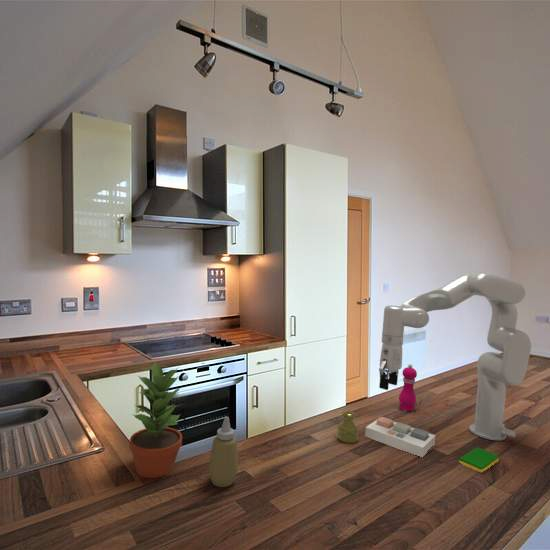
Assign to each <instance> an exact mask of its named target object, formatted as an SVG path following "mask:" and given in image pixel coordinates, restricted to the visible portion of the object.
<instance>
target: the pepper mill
mask: <svg viewBox="0 0 550 550" xmlns="http://www.w3.org/2000/svg"><path fill="white" fill-rule="evenodd" d="M402 376H403V378H402V381H403V387H402V390H401V391H400V393H399V395H398V400H399V402H400V403H398V405H399V406H398V408H399V409H400V410H401V409H403V410H406V411H405V412H408V411H412V412H414V410H415V404H416V402H417V397H416V394H415V391H414V384H415V383H416V380H415V379H416V378H417V376H418V372H417V370H416V369H415V368H413V365H412V364H411V363H409V364H407V367H404V368H403V370H402ZM403 410H402V411H403Z"/></svg>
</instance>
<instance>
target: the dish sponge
mask: <svg viewBox="0 0 550 550" xmlns="http://www.w3.org/2000/svg"><path fill="white" fill-rule="evenodd" d="M499 457H500V456H499V455H498V454H497V453H496V454H495V453H493V452H490V451H488V450H486V449H483V448H480V447H475V448H474V449H472V450H470V451H469V452H467V453H465V454H464V455H462V456H461V457H459V461H458V464H459V463H461V464H463V465H465V466H467V467H470V468H472V469H474V470H477V471H479V472H483V471H485V470H487V469H488V468H489V469H491V468H490V467H491V466H492V465H493V466H495V465H496V464H497V463H498V462H499V459H500V458H499ZM496 462H497V463H496ZM495 463H496V464H495ZM494 464H495V465H494ZM493 466H492V467H493ZM489 469H488V470H489ZM488 470H487V471H488ZM485 472H486V471H485Z"/></svg>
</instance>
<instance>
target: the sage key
mask: <svg viewBox="0 0 550 550" xmlns="http://www.w3.org/2000/svg"><path fill="white" fill-rule="evenodd" d="M393 430H394V431H397V432H400V433H403V434H405V435H407V434H408V433H409V432H410V430H411V425H409V424H405V423H402V422H397V424H395V425H394V426H393Z"/></svg>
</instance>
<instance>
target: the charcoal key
mask: <svg viewBox="0 0 550 550" xmlns="http://www.w3.org/2000/svg"><path fill="white" fill-rule="evenodd" d="M414 428H415V429H414V430H412V431H411V437H414V438H417V439H420V440H423V441H425V440H427V439H428V435H429V433H430V431H427V430H423V429H421V428H418V427H414Z"/></svg>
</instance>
